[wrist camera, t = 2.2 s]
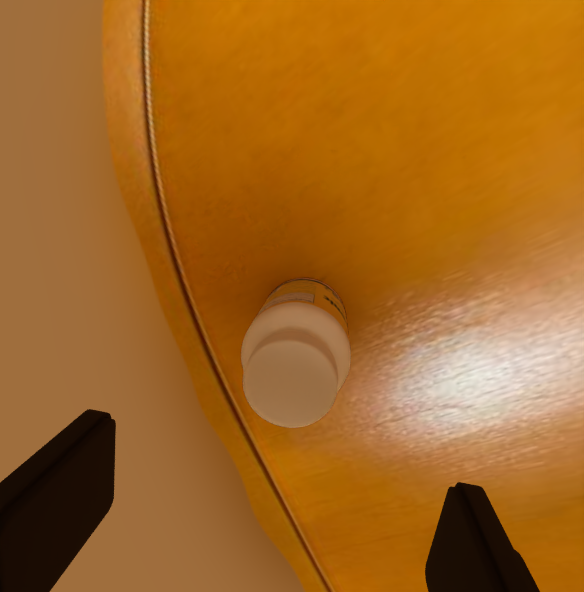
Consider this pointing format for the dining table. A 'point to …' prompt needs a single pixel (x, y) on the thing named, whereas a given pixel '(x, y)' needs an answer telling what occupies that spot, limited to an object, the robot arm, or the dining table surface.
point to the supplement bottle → (296, 354)
